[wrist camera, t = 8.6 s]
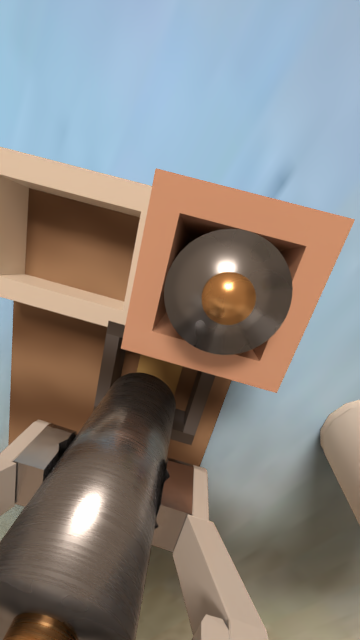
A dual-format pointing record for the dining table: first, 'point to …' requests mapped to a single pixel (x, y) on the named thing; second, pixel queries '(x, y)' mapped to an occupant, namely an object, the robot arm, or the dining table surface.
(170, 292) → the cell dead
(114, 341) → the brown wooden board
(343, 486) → the foam cup
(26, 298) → the trough
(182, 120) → the dining table surface
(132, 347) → the terracotta square box
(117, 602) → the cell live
